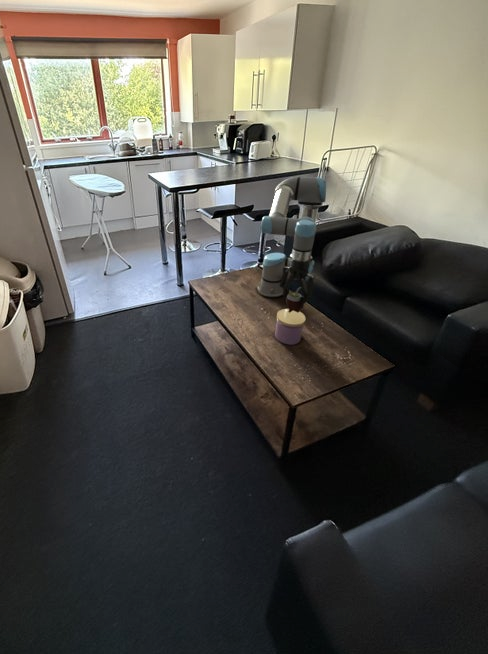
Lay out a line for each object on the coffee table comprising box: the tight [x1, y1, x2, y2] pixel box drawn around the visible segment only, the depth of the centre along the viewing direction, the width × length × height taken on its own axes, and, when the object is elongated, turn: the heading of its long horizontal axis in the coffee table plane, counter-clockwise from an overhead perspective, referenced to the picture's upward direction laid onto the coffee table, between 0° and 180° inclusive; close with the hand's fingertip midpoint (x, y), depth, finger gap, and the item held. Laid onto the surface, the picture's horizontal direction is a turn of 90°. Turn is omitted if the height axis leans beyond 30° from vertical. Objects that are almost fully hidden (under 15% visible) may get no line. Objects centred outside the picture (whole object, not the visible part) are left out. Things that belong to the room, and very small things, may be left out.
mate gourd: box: [285, 286, 302, 313], centre depth 140 cm, size 8×8×15 cm
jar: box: [274, 308, 306, 345], centre depth 148 cm, size 13×13×12 cm
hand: (292, 305), depth 142 cm, fingers closed on mate gourd, 7 cm apart
